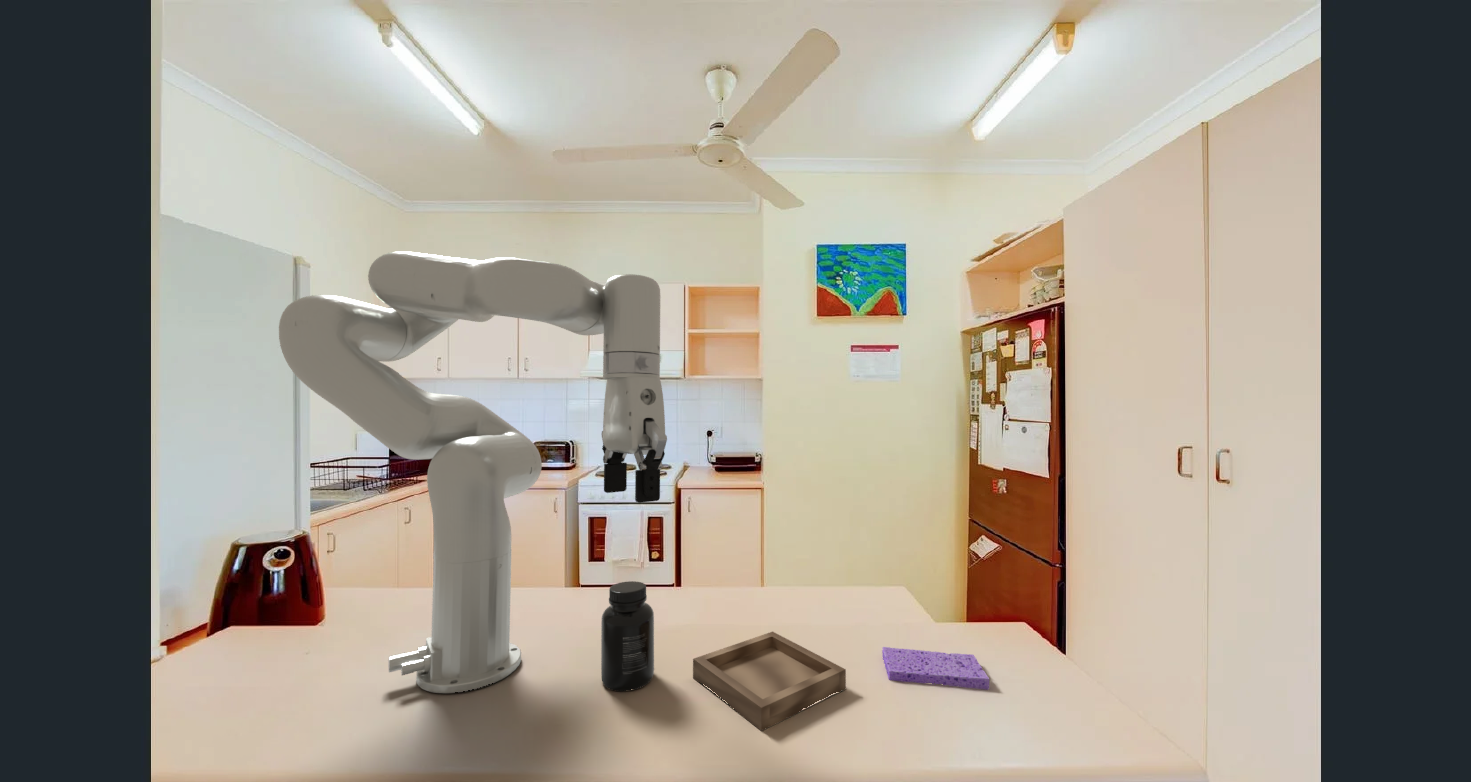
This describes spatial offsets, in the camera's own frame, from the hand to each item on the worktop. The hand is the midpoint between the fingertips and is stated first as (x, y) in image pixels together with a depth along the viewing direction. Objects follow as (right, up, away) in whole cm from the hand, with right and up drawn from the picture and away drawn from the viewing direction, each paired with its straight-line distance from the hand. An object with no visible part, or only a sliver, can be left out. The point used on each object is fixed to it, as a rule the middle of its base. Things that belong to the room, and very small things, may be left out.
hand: (630, 496), depth 68 cm
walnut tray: (+18, -24, -2) cm, 30 cm away
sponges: (+41, -25, +1) cm, 48 cm away
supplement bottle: (0, -24, -1) cm, 24 cm away
